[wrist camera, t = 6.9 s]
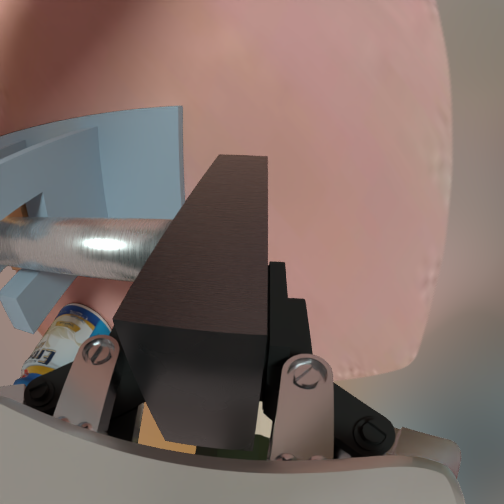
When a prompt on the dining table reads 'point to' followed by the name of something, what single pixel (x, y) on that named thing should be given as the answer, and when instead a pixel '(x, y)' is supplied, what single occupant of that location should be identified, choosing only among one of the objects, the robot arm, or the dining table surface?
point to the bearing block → (87, 184)
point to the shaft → (179, 297)
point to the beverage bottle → (63, 341)
